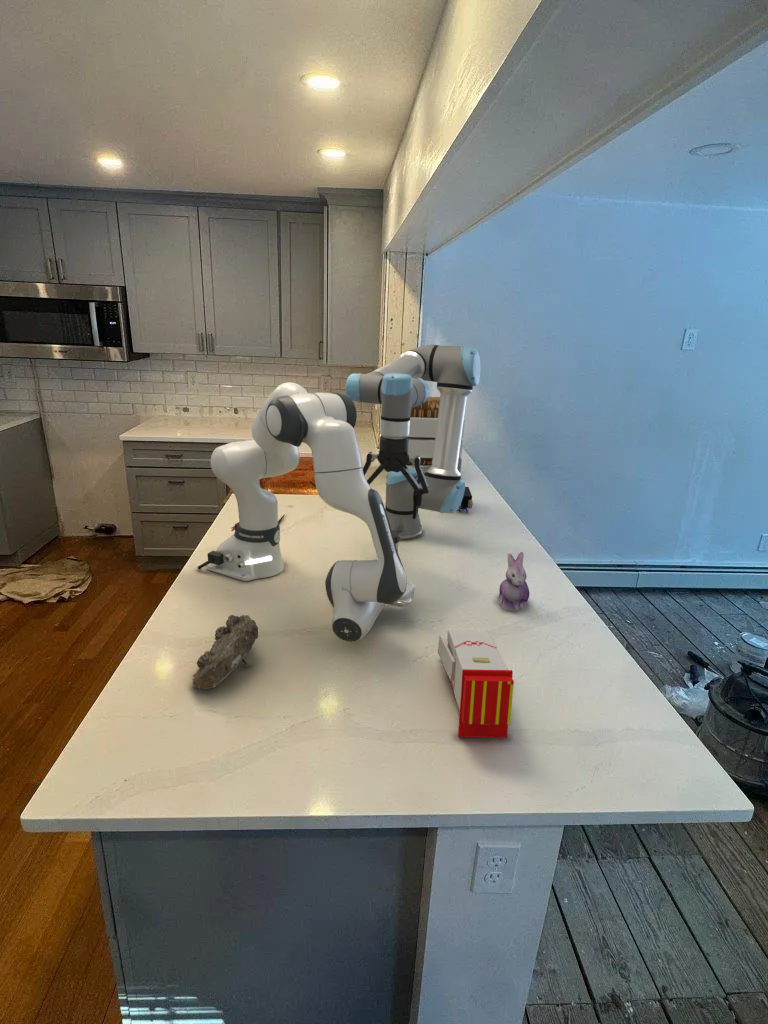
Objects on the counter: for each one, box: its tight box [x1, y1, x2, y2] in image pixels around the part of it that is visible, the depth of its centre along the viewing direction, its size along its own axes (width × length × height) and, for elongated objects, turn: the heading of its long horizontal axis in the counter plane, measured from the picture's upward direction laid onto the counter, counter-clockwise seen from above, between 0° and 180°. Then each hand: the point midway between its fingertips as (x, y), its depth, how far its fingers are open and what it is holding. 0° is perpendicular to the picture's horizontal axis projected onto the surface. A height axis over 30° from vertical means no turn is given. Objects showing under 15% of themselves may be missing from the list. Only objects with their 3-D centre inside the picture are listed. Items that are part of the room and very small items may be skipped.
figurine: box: [497, 551, 530, 612], centre depth 152 cm, size 9×10×15 cm
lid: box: [391, 530, 401, 544], centre depth 154 cm, size 6×6×2 cm
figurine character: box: [458, 486, 474, 513], centre depth 227 cm, size 7×8×15 cm
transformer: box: [406, 396, 465, 475], centre depth 268 cm, size 34×33×41 cm
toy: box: [437, 628, 515, 738], centre depth 117 cm, size 12×13×30 cm
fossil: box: [192, 614, 259, 691], centre depth 123 cm, size 22×10×15 cm
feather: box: [278, 514, 286, 525], centre depth 209 cm, size 2×28×2 cm
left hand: (383, 575), depth 154 cm, fingers open, 8 cm apart
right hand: (390, 514), depth 152 cm, fingers open, 12 cm apart
